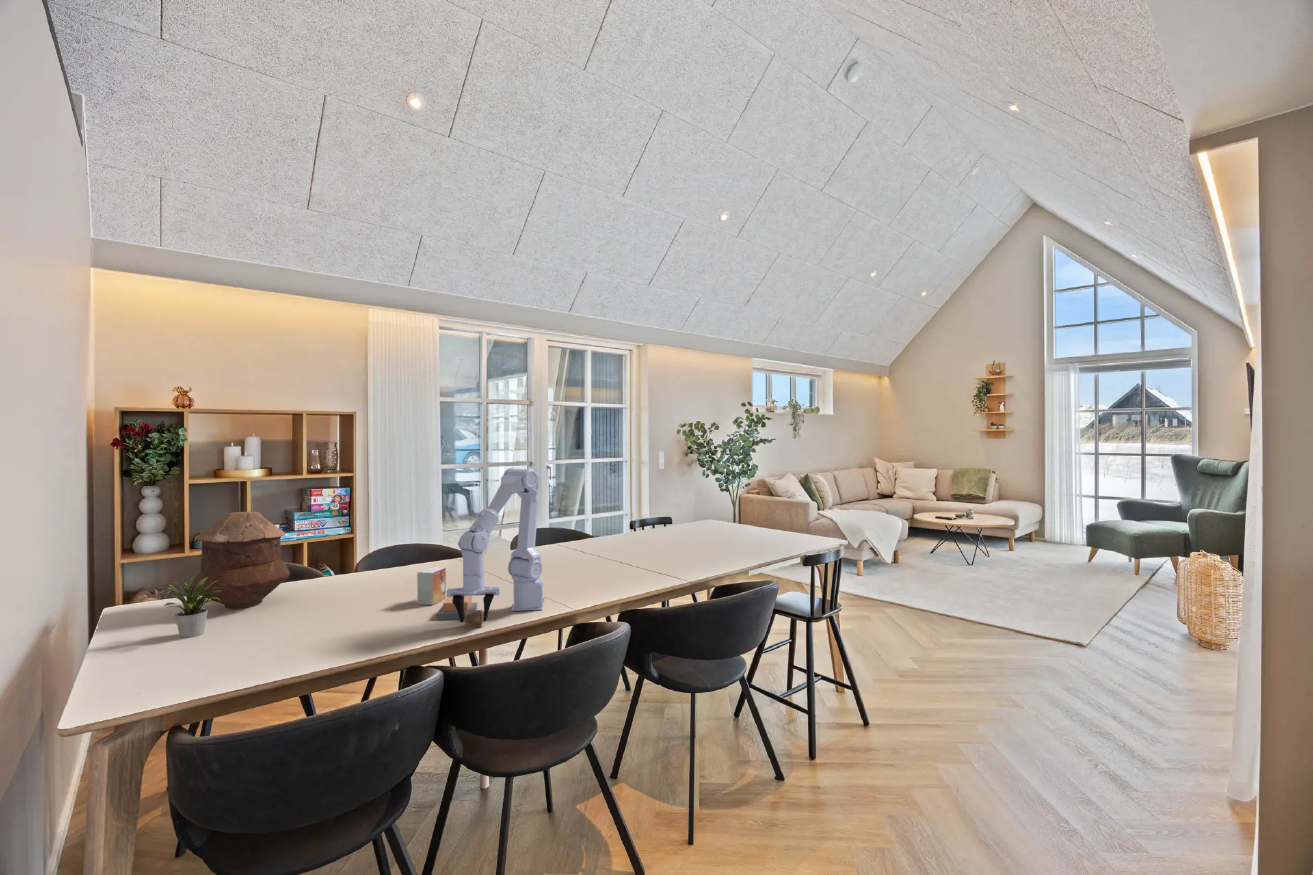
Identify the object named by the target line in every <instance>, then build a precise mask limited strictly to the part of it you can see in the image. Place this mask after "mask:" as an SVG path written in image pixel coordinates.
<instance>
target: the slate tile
mask: <svg viewBox="0 0 1313 875" xmlns="http://www.w3.org/2000/svg"><path fill="white" fill-rule="evenodd" d="M476 609H477V610H478V603H477V602H472V604H471V606H470V607H469V609H468V610H476ZM468 610H467V611H468ZM467 611H464V620H465V614H466V613H467ZM435 618H436V619H435V620H436V621H442V619H443V621H445V620H444V619H450V620H460V618H459V614H458V612H457V611H444V612H443V605H442V606H441V607H440V609H438V611H437V612H436V613H435Z"/></svg>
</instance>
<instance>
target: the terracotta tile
mask: <svg viewBox="0 0 1313 875" xmlns="http://www.w3.org/2000/svg"><path fill="white" fill-rule="evenodd" d="M452 599H453V596H452V597H446V599H444V602H443V603H442V606H443V612H444V611H457V609H456V607H455V605H454V604H453V602H452ZM472 603H473V596H464V611H467V610H468V609H469V607H470V606H471V604H472Z"/></svg>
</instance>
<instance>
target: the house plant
mask: <svg viewBox="0 0 1313 875" xmlns="http://www.w3.org/2000/svg"><path fill="white" fill-rule="evenodd" d="M207 578H208V577H205V578H204V579H203V580H201V581H200V582H199V583H198V585H197V586H196V588H195V589H194V592H193V591H192V585H193V584H192V583H193V580H194V574H192V575H191V577H190V580H189V584H188V583H187V582H185V581H183V585H184V587H182V586H180V588H181V589H182V591H183V593H184V595H185V597H186V598H185V597H184V596H183V594H182V593H181V592H180V590H178V589H177V588H176V587H174V586H173V585H171V584H169V586H166V587H165V586H164V587H163V586H161V587H160V586H158V587H157V586H156V587H155V589H156V588H164V589H167V590H169V591H171V592H172V593H173V594H175V595H176V597H175V598H176V599H178V600H179V601H180V602H181V603H182V605H183V606H181V605H179V604H177V603H176V602H175V603H174V602H167V603H165V604H164V605H163V607H166V606H167V607H166V609H168V608H171V607H172V608H173V607H174V605H175V606H176V607H177V608H180V609H182V611H179V612H176V613H175V614H174V616H175V622H176V625H177V630H178V634H179V638H181V639H189V638H194V637H195V636H196V637H199V636H201V635H204V632H205V629H206V624H207V618H208V617H207V616H208V611H209V609H208V608H204V607H203V606H204V605H205V604H206V603H210V602H211V603H215V604H216V602H215V601H214V600H210V599H212V598H213V599H218V600H219V598H217V597H212V598H208V597H209V596H210V595H213V594H215V593H217V592H221V591H212V592H209V593H204V594H201V595H200V593H201V591H202V588H204V587H203V586H204V585H205V581H206V579H207ZM217 581H218V580H217ZM215 582H216V581H215ZM171 583H172V584H174V583H175V582H173V581H172V582H171ZM213 583H214V582H213ZM213 583H212V584H213ZM176 584H177V585H179V583H178V582H176ZM210 585H211V584H210ZM210 585H208V587H209V586H210ZM205 587H206V586H205ZM208 587H207V588H208ZM207 588H204V589H205V590H206V589H207ZM205 590H204V591H205ZM204 591H203V592H204ZM202 595H203V596H202ZM207 598H208V599H207ZM202 607H203V608H202Z"/></svg>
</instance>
